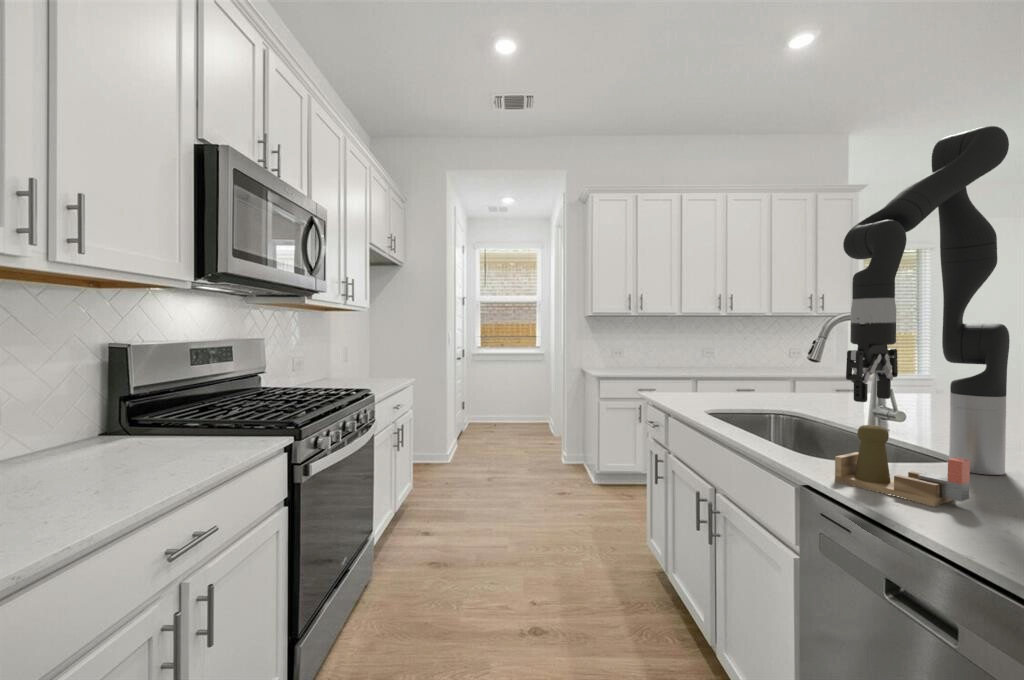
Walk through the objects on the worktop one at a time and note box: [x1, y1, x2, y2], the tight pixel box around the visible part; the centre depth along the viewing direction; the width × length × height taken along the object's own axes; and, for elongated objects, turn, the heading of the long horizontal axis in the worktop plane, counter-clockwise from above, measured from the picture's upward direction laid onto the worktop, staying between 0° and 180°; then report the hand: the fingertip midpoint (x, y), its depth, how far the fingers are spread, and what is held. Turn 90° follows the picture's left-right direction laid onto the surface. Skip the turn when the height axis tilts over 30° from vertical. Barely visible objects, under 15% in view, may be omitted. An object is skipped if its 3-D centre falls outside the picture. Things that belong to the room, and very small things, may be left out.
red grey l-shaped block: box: [918, 458, 971, 502], centre depth 90 cm, size 3×6×7 cm, turn 27°
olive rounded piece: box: [854, 424, 891, 484], centre depth 100 cm, size 6×6×11 cm
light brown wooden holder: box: [834, 451, 954, 507], centre depth 97 cm, size 8×17×5 cm, turn 27°
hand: (872, 400), depth 100 cm, fingers open, 8 cm apart
